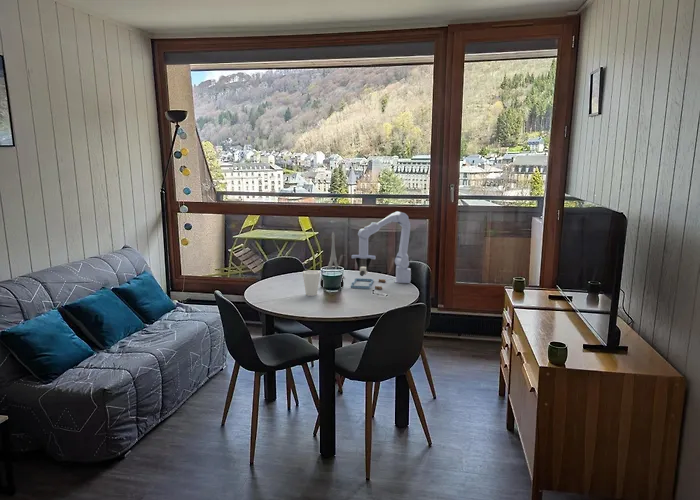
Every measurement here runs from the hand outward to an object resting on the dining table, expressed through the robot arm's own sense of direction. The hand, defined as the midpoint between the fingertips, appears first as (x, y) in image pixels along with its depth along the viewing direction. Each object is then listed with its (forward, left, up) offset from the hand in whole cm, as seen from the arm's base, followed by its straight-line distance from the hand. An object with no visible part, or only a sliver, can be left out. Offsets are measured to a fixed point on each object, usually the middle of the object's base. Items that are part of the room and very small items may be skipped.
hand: (363, 270), depth 305 cm
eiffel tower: (+22, -17, -9) cm, 30 cm away
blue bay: (0, 0, -9) cm, 9 cm away
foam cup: (+25, +28, -9) cm, 39 cm away
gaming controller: (+17, +10, -9) cm, 22 cm away
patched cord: (0, 0, -2) cm, 2 cm away
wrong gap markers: (-11, 0, -9) cm, 14 cm away
